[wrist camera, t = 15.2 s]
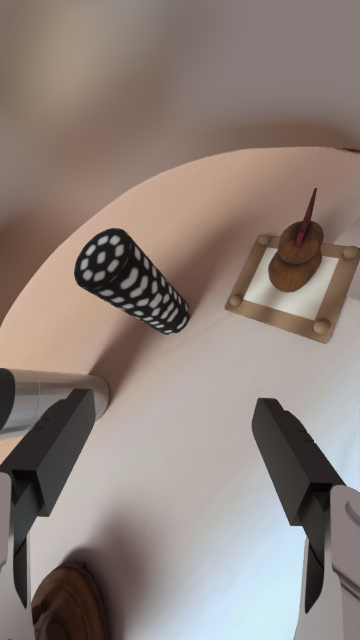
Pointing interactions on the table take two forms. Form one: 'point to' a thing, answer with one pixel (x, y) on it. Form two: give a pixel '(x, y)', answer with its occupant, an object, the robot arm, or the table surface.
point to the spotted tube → (130, 281)
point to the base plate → (302, 305)
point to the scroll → (68, 606)
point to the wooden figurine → (297, 254)
